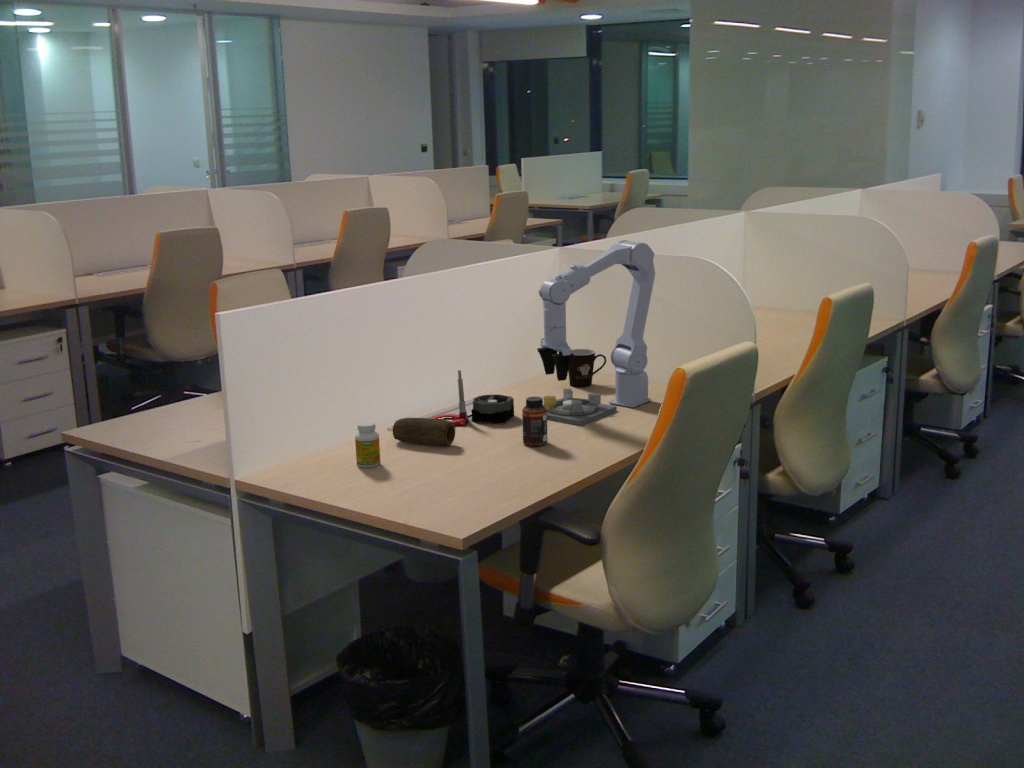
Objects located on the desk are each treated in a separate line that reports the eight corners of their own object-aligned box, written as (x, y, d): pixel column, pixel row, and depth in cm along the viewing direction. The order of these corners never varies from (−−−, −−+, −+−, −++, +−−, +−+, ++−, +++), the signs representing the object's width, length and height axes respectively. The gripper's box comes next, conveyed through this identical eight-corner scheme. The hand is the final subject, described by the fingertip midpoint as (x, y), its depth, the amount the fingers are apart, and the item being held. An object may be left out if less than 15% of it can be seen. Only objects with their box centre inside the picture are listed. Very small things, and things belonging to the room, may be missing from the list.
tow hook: (426, 429, 255) (465, 427, 254) (421, 376, 252) (460, 374, 251) (431, 419, 264) (468, 417, 263) (426, 368, 261) (464, 366, 260)
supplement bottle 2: (552, 444, 238) (551, 399, 236) (531, 449, 235) (530, 402, 233) (539, 438, 243) (538, 393, 241) (518, 442, 240) (517, 397, 238)
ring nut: (540, 402, 271) (539, 390, 270) (594, 399, 272) (594, 387, 272) (548, 417, 256) (548, 404, 255) (606, 414, 258) (606, 401, 257)
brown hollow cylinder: (458, 442, 242) (457, 416, 240) (447, 451, 236) (446, 424, 234) (402, 437, 247) (401, 411, 245) (390, 446, 241) (388, 419, 239)
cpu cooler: (466, 402, 257) (481, 392, 266) (467, 423, 258) (481, 412, 268) (504, 404, 254) (517, 394, 263) (505, 426, 255) (518, 415, 264)
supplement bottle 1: (361, 469, 223) (358, 428, 221) (353, 463, 228) (350, 422, 226) (384, 465, 226) (381, 424, 223) (375, 459, 231) (373, 419, 228)
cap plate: (564, 401, 276) (564, 391, 276) (616, 410, 266) (616, 399, 265) (527, 415, 263) (527, 404, 263) (580, 425, 253) (580, 414, 252)
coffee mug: (564, 388, 290) (564, 355, 288) (567, 381, 299) (567, 348, 296) (604, 389, 289) (604, 355, 286) (606, 382, 297) (606, 349, 294)
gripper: (529, 323, 263) (530, 373, 266) (552, 332, 250) (553, 384, 253) (553, 320, 265) (554, 370, 269) (577, 329, 252) (578, 381, 256)
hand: (555, 377), depth 261 cm, fingers open, 7 cm apart
